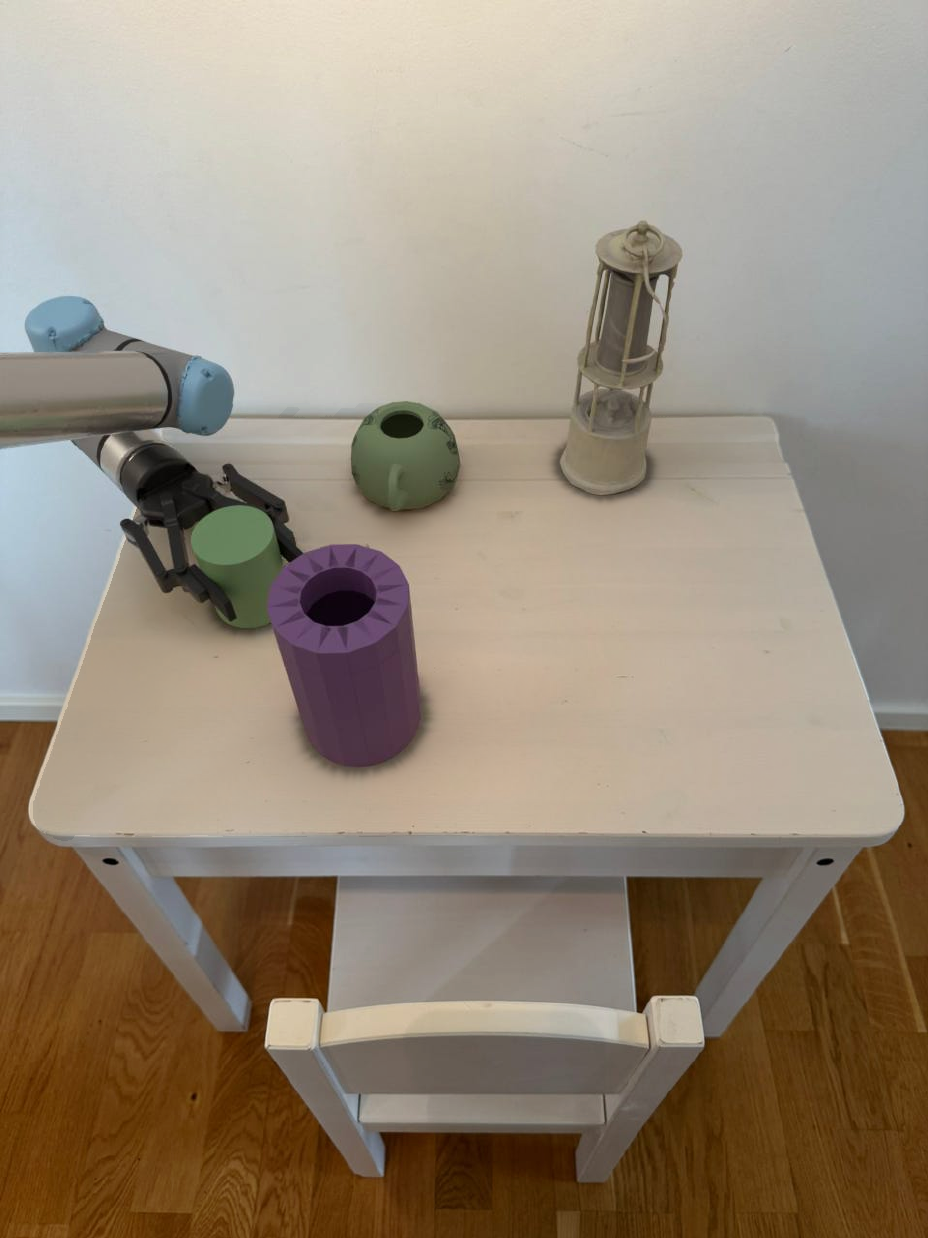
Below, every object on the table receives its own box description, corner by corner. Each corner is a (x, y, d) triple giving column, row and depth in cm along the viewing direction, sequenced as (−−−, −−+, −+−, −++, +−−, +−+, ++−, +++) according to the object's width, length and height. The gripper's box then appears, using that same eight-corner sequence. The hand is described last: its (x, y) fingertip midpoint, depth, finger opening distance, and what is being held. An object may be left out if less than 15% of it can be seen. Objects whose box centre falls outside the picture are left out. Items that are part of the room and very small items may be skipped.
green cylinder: (200, 611, 91) (173, 547, 83) (245, 561, 95) (224, 495, 87) (262, 639, 88) (240, 575, 80) (305, 586, 93) (289, 520, 85)
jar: (298, 767, 79) (258, 654, 65) (310, 667, 86) (276, 545, 72) (419, 766, 79) (406, 651, 65) (422, 666, 86) (410, 542, 72)
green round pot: (361, 441, 107) (353, 383, 100) (465, 445, 106) (464, 387, 99) (339, 534, 97) (329, 477, 90) (453, 540, 96) (451, 483, 90)
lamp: (639, 436, 107) (685, 193, 83) (656, 510, 99) (711, 265, 75) (556, 438, 107) (578, 196, 83) (566, 512, 99) (593, 268, 75)
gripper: (238, 455, 102) (355, 559, 92) (77, 543, 94) (186, 668, 83) (223, 404, 97) (347, 509, 86) (50, 493, 88) (164, 621, 78)
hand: (268, 587), depth 85 cm, fingers closed on green cylinder, 8 cm apart
